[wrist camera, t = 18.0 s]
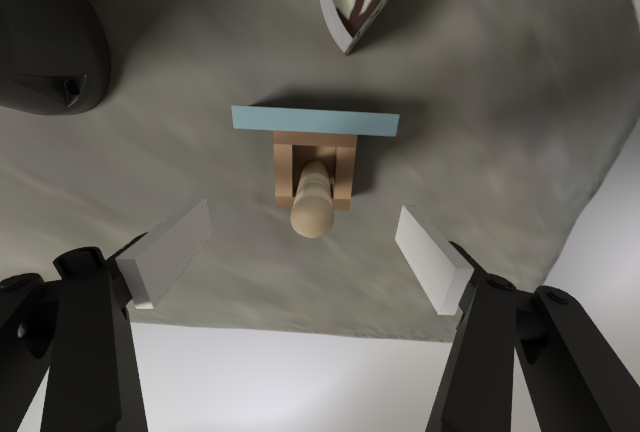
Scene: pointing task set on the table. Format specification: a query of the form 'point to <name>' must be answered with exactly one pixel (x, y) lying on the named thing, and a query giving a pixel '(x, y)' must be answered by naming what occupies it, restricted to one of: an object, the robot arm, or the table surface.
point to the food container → (350, 19)
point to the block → (305, 146)
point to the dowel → (313, 201)
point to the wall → (315, 120)
